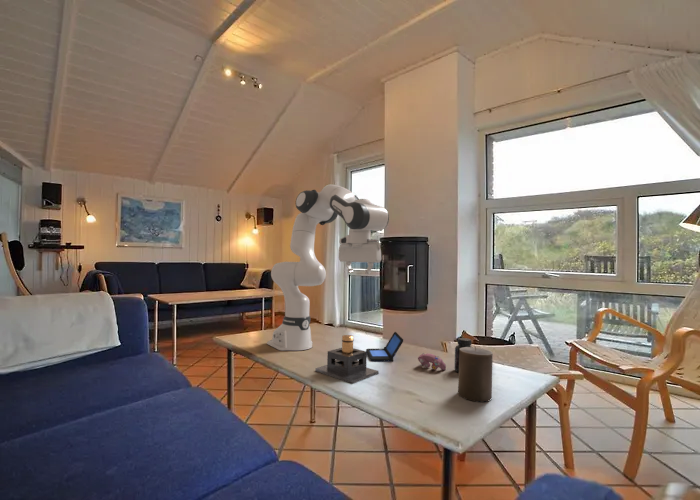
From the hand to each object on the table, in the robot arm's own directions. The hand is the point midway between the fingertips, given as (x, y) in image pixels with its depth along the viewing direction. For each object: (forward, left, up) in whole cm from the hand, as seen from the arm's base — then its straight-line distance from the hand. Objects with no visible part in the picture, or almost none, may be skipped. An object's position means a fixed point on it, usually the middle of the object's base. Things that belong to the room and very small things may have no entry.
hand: (359, 273), depth 140 cm
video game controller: (+27, +12, -35) cm, 46 cm away
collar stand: (+7, -14, -35) cm, 38 cm away
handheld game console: (+4, +13, -36) cm, 38 cm away
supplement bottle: (+37, +18, -35) cm, 54 cm away
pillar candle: (+49, -2, -35) cm, 60 cm away
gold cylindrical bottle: (+7, -14, -34) cm, 38 cm away
